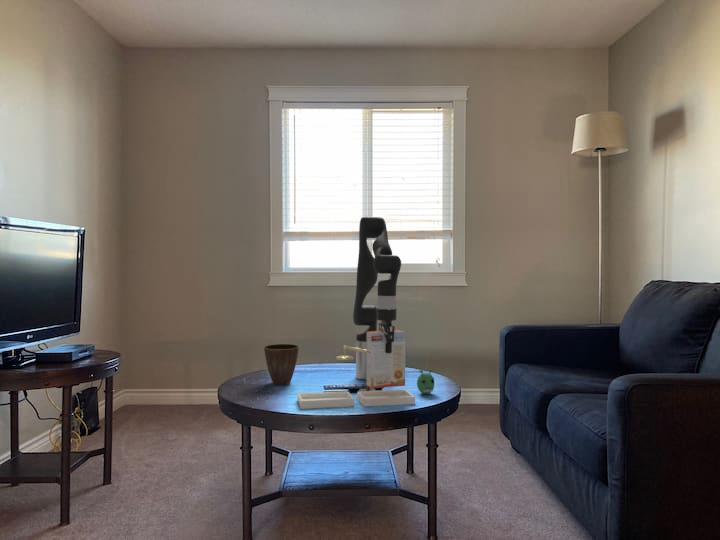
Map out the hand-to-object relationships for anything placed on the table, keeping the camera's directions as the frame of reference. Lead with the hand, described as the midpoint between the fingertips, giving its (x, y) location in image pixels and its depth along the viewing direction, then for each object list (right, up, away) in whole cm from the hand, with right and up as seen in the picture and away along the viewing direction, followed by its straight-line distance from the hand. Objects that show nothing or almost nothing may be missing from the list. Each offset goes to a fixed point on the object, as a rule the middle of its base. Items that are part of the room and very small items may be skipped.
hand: (386, 351), depth 198 cm
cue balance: (-7, -19, +11) cm, 23 cm away
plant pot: (-44, -19, +28) cm, 56 cm away
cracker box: (0, -13, 0) cm, 13 cm away
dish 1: (-23, -19, -4) cm, 30 cm away
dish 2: (0, -19, 0) cm, 19 cm away
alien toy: (+17, -19, +12) cm, 28 cm away
